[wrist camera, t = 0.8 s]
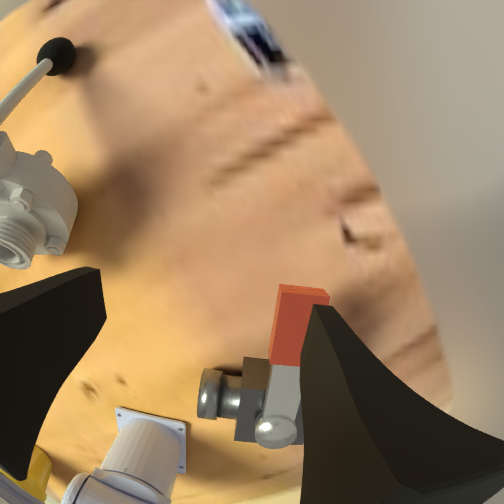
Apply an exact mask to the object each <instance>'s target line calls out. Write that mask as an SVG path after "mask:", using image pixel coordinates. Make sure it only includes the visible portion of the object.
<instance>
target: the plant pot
mask: <svg viewBox="0 0 504 504" xmlns="http://www.w3.org/2000/svg"><path fill="white" fill-rule="evenodd" d="M52 467H53V465H52V462H51V460H50V458H49V457H48V456H47V455H46V453H45V452H44V451H42V450H41V449H40V448H39V447H38V446H36V445H35V446H34V450H33V453H32V457H31V461H30V465H29V469H28V474H27V479H26V480H24V481H17V480H16V479H15V478H13V477H12V476H10V475H9V474H8V473H6V472H5V471H4V470H2V469H1V468H0V473H1V474H3V475H4V476H5V477H7V478H8V479H9V480H11V481H12V482H13V483H15V484H16V485H18V486H19V487H20V488H22V489H23V490H25V491H26V492H28V493H29V494H31V495H32V496H34V497H36V498H37V499H39V500H40V501H42V502H45V500H46V497H47V496H46V493H45V490H46V487H47V483H48V480H49V477H50V473H51V470H52Z"/></svg>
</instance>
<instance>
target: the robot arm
mask: <svg viewBox="0 0 504 504" xmlns="http://www.w3.org/2000/svg"><path fill="white" fill-rule="evenodd" d="M106 319H107V316H106V310H105V303H104V297H103V290H102V283H101V275H100V269H96V268H91V267H81V268H77V269H73V270H70V271H67V272H64V273H61V274H58V275H55V276H52V277H49V278H46V279H43V280H41V281H38V282H35V283H32V284H29V285H26V286H23V287H20V288H17V289H14V290H11V291H7V292H4V293H0V468H1V469H2V470H4V471H5V472H6V473H8V474H9V475H10V476H12V477H13V478H15V479H16V480H17V481H24V480H26V479H27V474H28V469H29V465H30V461H31V457H32V453H33V450H34V446H35V443H36V440H37V438H38V435H39V432H40V429H41V427H42V424H43V422H44V420H45V417H46V415H47V413H48V410H49V408H50V406H51V404H52V402H53V401H54V399H55V397H56V395H57V393H58V391H59V389H60V388H61V386H62V385H63V383H64V381H65V380H66V379H67V377H68V376H69V374H70V373H71V372H72V370H73V369H74V368H75V366H76V365H77V364H78V362H79V361H80V360H81V358H82V357H83V356H84V354H85V353H86V351H87V350H88V349H89V347H90V346H91V345H92V343H93V342H94V341H95V339H96V337H97V336H98V334H99V332H100V330H101V328H102V326H103V325H104V323H105V321H106ZM299 382H300V394H301V407H302V419H303V432H304V461H303V477H302V488H301V499H300V504H483V503H484V502H485V501H487V500H488V499H489V498H491V497H492V496H493V495H495V494H496V493H497V492H498V491H500V490H501V489H502V488H503V487H504V441H503V440H501V439H498V438H496V437H493V436H491V435H488V434H486V433H483V432H481V431H479V430H477V429H474V428H472V427H470V426H468V425H466V424H464V423H463V422H461V421H459V420H457V419H455V418H454V417H452V416H450V415H448V414H447V413H445V412H443V411H442V410H440V409H439V408H437V407H435V406H434V405H433V404H431V403H430V402H428V401H427V400H425V399H424V398H423V397H421V396H420V395H418V394H417V393H416V392H414V391H413V390H412V389H411V388H409V387H408V386H407V385H406V384H405V383H403V382H402V381H401V380H400V379H399V378H398V377H396V376H395V375H394V374H393V373H392V372H391V371H390V370H389V369H388V368H387V367H386V366H385V365H384V364H383V363H382V362H381V361H380V360H379V359H378V358H377V357H376V356H375V355H374V354H373V353H372V352H371V351H370V350H369V349H368V348H367V347H366V346H365V344H364V343H363V342H362V341H361V340H360V339H359V338H358V336H357V335H356V334H355V333H354V332H353V330H352V329H351V328H350V327H349V326H348V324H347V323H346V322H345V321H344V319H343V318H342V317H341V316H340V314H339V313H338V312H337V311H336V310H335V308H334V307H333V306H328V305H320V304H313V307H312V311H311V315H310V319H309V323H308V327H307V331H306V335H305V339H304V342H303V346H302V350H301V354H300V377H299ZM115 414H116V420H117V425H118V431H119V433H118V435H117V436H116V438H115V440H114V442H113V444H112V446H111V447H110V449H109V451H108V453H107V455H106V457H105V458H104V460H103V462H102V464H101V466H100V468H97V467H96V468H95V469H94V471H93V473H92V475H90V474H89V473H87V472H83V473H80V474H77V475H76V476H75V477H74V478H73V479H72V480H71V482H70V484H69V485H68V487H67V489H66V491H65V493H64V496H63V498H62V501H61V504H171V499H170V498H171V495H172V491H173V487H174V483H175V480H176V476H177V473H180V474H185V473H186V424H185V423H184V422H182V421H177V420H172V419H167V418H163V417H158V416H154V415H149V414H145V413H141V412H137V411H133V410H129V409H125V408H122V407H116V409H115ZM120 414H121V415H120ZM180 428H182V429H180ZM0 497H2V498H3V499H4V500H6V501H7V502H8V503H10V504H45V503H44V502H42V501H40V500H39V499H37V498H36V497H34V496H32V495H31V494H29V493H28V492H26V491H25V490H23V489H22V488H20V487H19V486H18V485H16V484H15V483H13V482H12V481H11V480H9V479H8V478H7V477H5V476H4V475H3V474H1V473H0Z"/></svg>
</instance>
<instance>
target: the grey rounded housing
mask: <svg viewBox="0 0 504 504" xmlns="http://www.w3.org/2000/svg"><path fill="white" fill-rule="evenodd" d="M74 57H75V48H74V45H73V44H72V42H71V41H70V40H68V39H66V38H63V37H59V38H54V39H52V40H49V41H48V42H47V43H45V44H44V45H43V46H42V47H41V49H40V51H39V53H38V56H37V66H35V67H34V68H33V69H32V70H31V71H30V72H29V73H28V74H27V75H26V76H25V77H24V78H23V79H22V80H21V81H20V82H19V83H18V84H17V85H16V86H15V87H14V88H13V89H12V90H11V91H10V92H9V93H8V94H7V95H6V96H5V97H4V98H3V99H2V101H1V102H0V125H1V124H2V123H3V122H4V120H5V119H6V118H7V117H8V115H9V114H10V113H11V112H12V110H13V109H14V108H15V107H16V106H17V105H18V103H19V102H20V101H21V100H22V99H23V98H24V97H25V96H26V94H27V93H28V92H29V91H30V90H31V89H32V88H33V87H34V86H35V85H36V84H37V83H38V82H39V81H40V80H41V79H42V78H43V77H44V76H45V75H47V76H56V75H59V74H61V73H63V72H65V71H66V70H67V69H68V68H69V67H70V65H71V64H72V63H73V60H74ZM52 161H53V160H52V157H51V155H50V154H49V153H48V152H47V151H44V150H40V151H37V152H36V154H35V155H31V154H28V153H24V152H19V151H15V149H14V147H13V145H12V143H11V141H10V139H9V137H8V135H7V133H6V132H4V131H0V264H2V265H4V266H7V267H10V268H14V269H21V270H22V269H27V268H29V267H30V266H31V262H32V258H33V256H34V254H39V255H47V254H53V255H58V256H59V255H61V254H63V253H64V251H65V248H66V245H67V243H68V240H69V236H70V233H71V230H72V227H73V224H74V221H75V218H76V215H77V212H78V201H77V197H76V194H75V192H74V190H73V188H72V186H71V185H70V183H69V182H68V181H67V180H66V178H65V177H64V176H63V175H62V174H61V173H60V172H59V171H58V170H57V169H55V168H54V167H53V166H51V164H52Z"/></svg>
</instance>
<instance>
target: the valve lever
mask: <svg viewBox="0 0 504 504" xmlns="http://www.w3.org/2000/svg"><path fill="white" fill-rule="evenodd" d="M329 299H330V296H329V295H328V294H327V293H326V291H325V290H324V289H320V288H311V287H302V286H293V285H284V284H279V289H278V296H277V302H276V308H275V315H274V321H273V327H272V333H271V339H270V345H269V351H268V353H269V364H271V367H270V373H269V378H268V383H267V389H266V394H265V399H264V404H263V409H262V413H260V414H259V415H258V416H257V418H256V420H255V440H256V441H257V443H258V444H259V445H261V446H263V447H265V448H269V449H279V448H284V447H286V446H288V445H290V444H291V443H293V442H294V441H295V439H296V437H297V429H296V424H295V418H296V414H297V411H298V407H299V403H300V399H301V394H300V382H299V377H300V354H301V350H302V346H303V342H304V339H305V335H306V331H307V327H308V323H309V319H310V315H311V311H312V307H313V304H320V305H328V304H329Z"/></svg>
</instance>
